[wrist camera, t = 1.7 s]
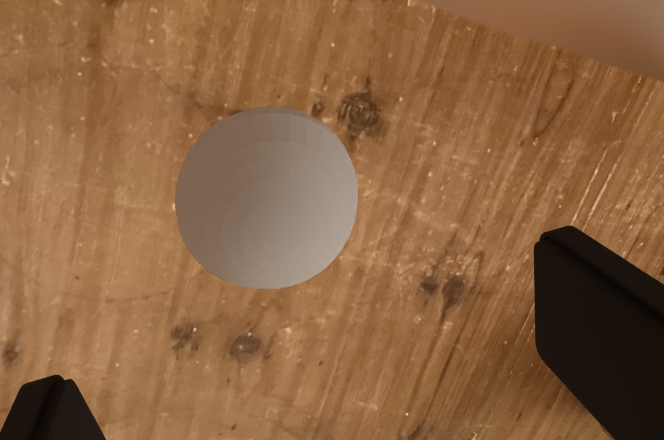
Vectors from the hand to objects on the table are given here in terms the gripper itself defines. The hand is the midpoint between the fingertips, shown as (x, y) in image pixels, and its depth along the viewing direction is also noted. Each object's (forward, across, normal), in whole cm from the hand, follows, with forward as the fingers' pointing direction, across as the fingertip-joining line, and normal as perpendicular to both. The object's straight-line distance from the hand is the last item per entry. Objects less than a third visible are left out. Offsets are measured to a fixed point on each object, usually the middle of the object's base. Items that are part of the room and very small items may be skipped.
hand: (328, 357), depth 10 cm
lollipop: (+20, 0, 0) cm, 20 cm away
